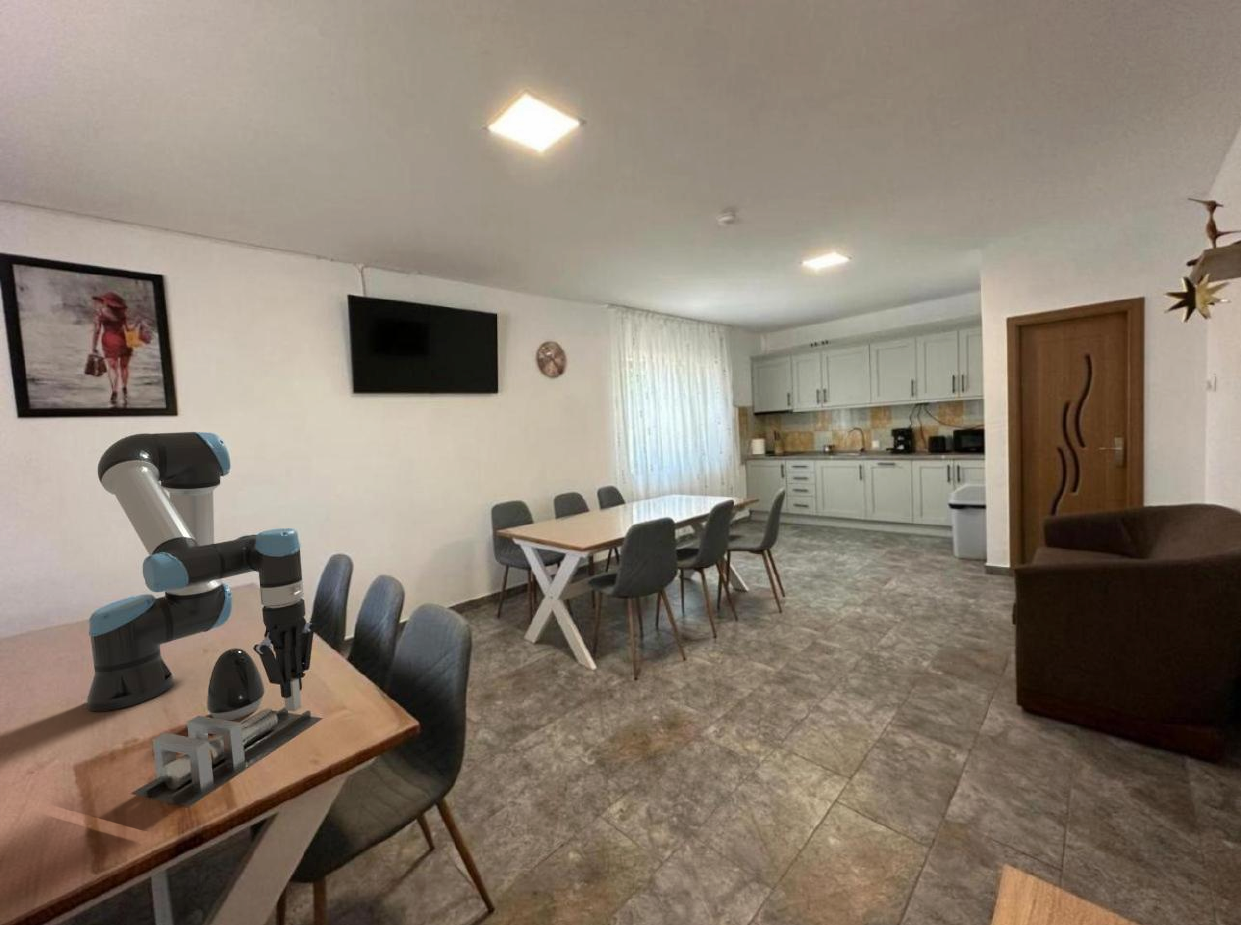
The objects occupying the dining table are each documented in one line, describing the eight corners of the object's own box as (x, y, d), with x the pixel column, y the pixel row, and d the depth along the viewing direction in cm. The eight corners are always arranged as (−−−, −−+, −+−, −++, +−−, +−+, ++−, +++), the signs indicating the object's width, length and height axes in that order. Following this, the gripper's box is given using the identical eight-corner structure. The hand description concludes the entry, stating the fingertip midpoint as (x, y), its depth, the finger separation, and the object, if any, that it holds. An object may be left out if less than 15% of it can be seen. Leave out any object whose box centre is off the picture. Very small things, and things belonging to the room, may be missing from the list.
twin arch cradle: (131, 798, 87) (125, 748, 86) (274, 714, 112) (270, 675, 111) (188, 812, 83) (182, 760, 82) (323, 722, 107) (319, 682, 107)
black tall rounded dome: (221, 734, 105) (213, 663, 104) (201, 721, 110) (193, 654, 109) (275, 710, 114) (268, 644, 113) (254, 698, 119) (247, 636, 118)
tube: (183, 786, 86) (173, 762, 87) (167, 791, 88) (158, 767, 88) (280, 725, 103) (272, 705, 104) (266, 731, 105) (258, 711, 105)
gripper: (267, 614, 100) (277, 728, 101) (323, 593, 112) (332, 695, 114) (239, 611, 102) (250, 723, 103) (297, 591, 114) (306, 691, 116)
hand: (293, 708), depth 109 cm, fingers closed
